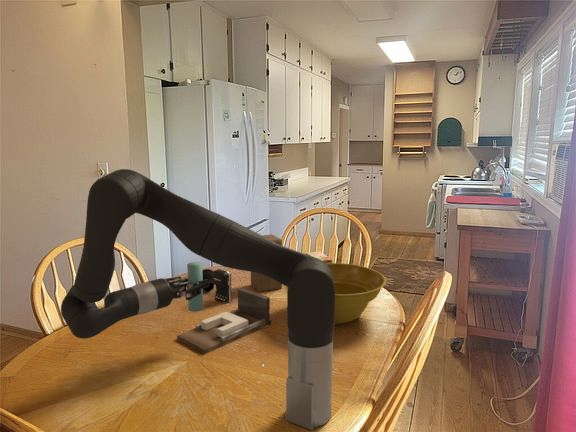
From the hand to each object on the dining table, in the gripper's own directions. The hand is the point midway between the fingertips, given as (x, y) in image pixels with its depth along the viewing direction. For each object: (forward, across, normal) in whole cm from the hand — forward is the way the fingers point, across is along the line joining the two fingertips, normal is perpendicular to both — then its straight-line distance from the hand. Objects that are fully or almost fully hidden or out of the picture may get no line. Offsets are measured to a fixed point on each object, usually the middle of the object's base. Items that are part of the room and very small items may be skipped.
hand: (203, 280), depth 121 cm
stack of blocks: (+62, +9, +18) cm, 66 cm away
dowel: (-3, 0, +8) cm, 8 cm away
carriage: (+8, 0, +16) cm, 18 cm away
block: (+45, +19, +18) cm, 52 cm away
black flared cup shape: (+29, +37, +18) cm, 51 cm away
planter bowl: (+40, -18, +18) cm, 47 cm away
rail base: (+8, 0, +18) cm, 20 cm away
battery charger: (+23, +20, +18) cm, 36 cm away
